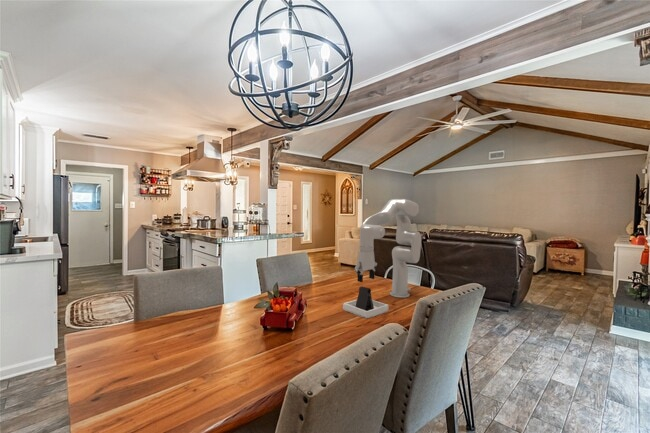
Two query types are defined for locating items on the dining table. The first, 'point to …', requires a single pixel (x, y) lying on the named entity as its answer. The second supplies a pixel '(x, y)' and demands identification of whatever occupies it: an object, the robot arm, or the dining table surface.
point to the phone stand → (364, 299)
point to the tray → (377, 310)
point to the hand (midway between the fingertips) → (366, 280)
